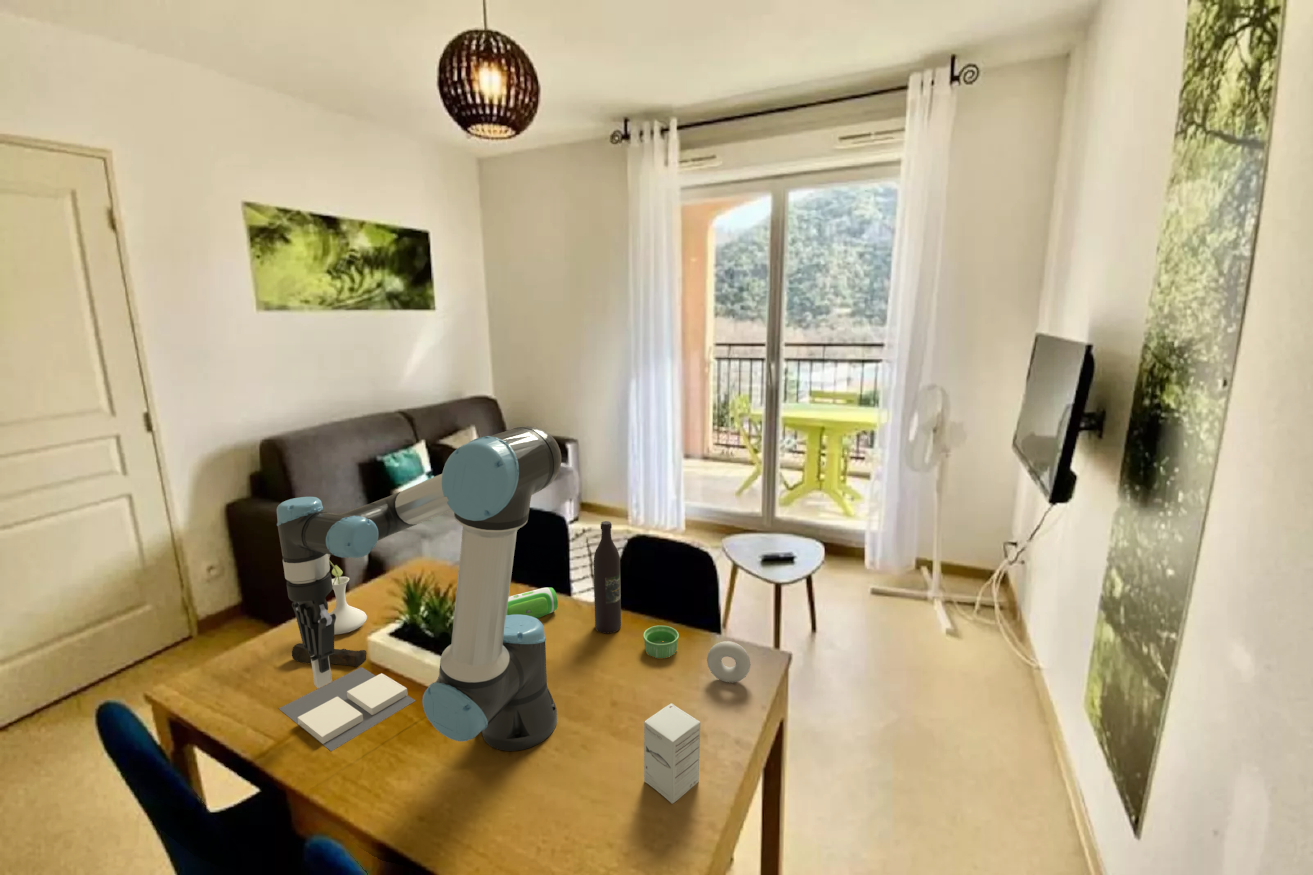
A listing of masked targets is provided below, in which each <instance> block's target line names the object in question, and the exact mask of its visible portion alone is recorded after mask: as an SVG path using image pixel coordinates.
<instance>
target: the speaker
mask: <svg viewBox="0 0 1313 875" xmlns="http://www.w3.org/2000/svg"><path fill="white" fill-rule="evenodd" d="M558 602H559V601H558V595H557V592H556V590H555V589H554V588H553V587H541V588H537V589H534V590H530V591H529V590H528V591H526V592H522V593H518V594H514V595H509V598H508V606H507V614H506V615H516V614H517V615H528V616H532V617H534V618H537V619H540V618H542V617H545V616H546V615H549V614H552V613H553V612H555V611H556V610H558V606H559V603H558Z"/></svg>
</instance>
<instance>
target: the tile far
mask: <svg viewBox="0 0 1313 875" xmlns="http://www.w3.org/2000/svg"><path fill="white" fill-rule="evenodd" d="M407 695H408V688H407V687H406V686H404V685H402V684H400V683H399V682H397V681H395V680H394V679H393V678H391V677H389V676H387V675H386V674H384V673H382V672H381V673H379V674H377V675H375V677H373V678H371V679H370V680H368V681H366V682H364V683H362V684H360V685H358V686H356V687H354V688H352V689H350V690H349V691H347V698H348V699H350V700H351V701H353V702H354V703H356V704H357V705H358V706H360V707H361V708H363V709H364V710H366V711H367V712H369V713H370V714H371V715H374V714H376V713H377V712H379V711H381V710H383V709H384V708H386V707H388V706H390V705H391V704H393V703H395V702H396V701H398V700H400V699H402V698H403V697H405V696H407ZM408 696H409V695H408Z"/></svg>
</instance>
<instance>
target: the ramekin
mask: <svg viewBox="0 0 1313 875" xmlns="http://www.w3.org/2000/svg"><path fill="white" fill-rule="evenodd" d="M679 636H680V634H679V632H678V631H677V629H675V628H673V627H671V626H668V625H654V626H653V625H652V626H651V627H649V628H647V629H645V631H644V632H643V636H642V637H643V641H644V642H643V643H644V650H645V653H646V652H647V653H646V654H647V655H648V656H649V657H651V656H653V657H652V658H654V657H655V658H654V659H658V658H664V659H667V658H666V657H669V656H671V655H673V654H674V653H675V652H676V653H677V651H676V650H678V640H679ZM662 641H664V642H662ZM676 653H675V654H676ZM675 654H674V655H675ZM674 655H673V656H674ZM671 657H672V656H671ZM669 658H670V657H669Z"/></svg>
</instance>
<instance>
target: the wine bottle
mask: <svg viewBox="0 0 1313 875" xmlns="http://www.w3.org/2000/svg"><path fill="white" fill-rule="evenodd" d="M612 526H613V525H612V522H611V521H609V520H605V521H603V520H602V521H601V523H600V530H601V534H600V536H601V537H600V541H599V544H598V546H597V547H596V549H595V551H594V556H593V588H594V591H593V592H594V594H593V595H594V596H593V597H594V599H593V600H594V627H595V630H596V631H597V632H599V633H602V634H613V633H615V632H618V631H619V630H620V629H621V627H622V604H621V602H622V599H621V596H622V595H621V593H622V591H621V558H620V552H619V551H618V548H617V546H616V545H615V544H614V541H613V537H612V528H613V527H612Z"/></svg>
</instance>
